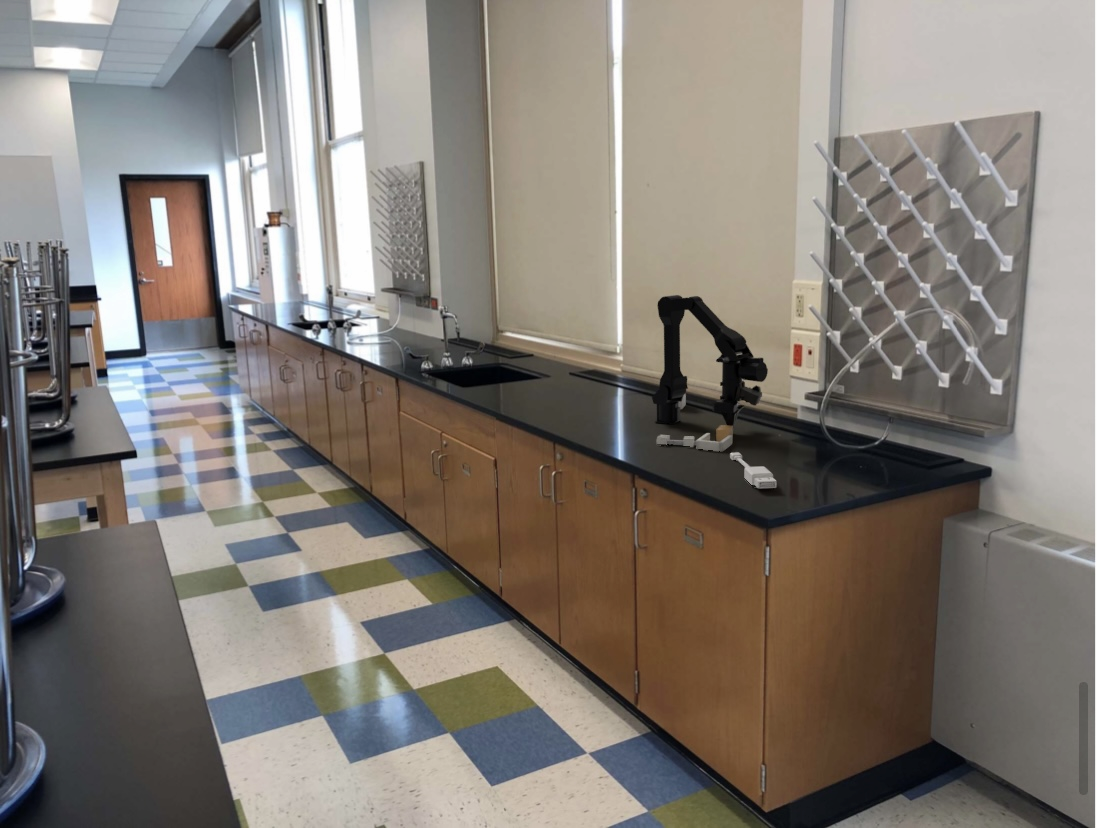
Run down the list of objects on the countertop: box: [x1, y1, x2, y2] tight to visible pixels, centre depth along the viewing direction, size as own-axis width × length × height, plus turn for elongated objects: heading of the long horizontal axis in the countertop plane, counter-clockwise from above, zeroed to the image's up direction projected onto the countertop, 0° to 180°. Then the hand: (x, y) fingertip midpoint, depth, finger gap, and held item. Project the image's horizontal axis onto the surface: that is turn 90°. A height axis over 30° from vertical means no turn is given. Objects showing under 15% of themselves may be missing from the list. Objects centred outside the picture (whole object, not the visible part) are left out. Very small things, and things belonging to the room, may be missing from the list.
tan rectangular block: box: [715, 424, 734, 442], centre depth 248 cm, size 4×6×4 cm, turn 157°
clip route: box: [655, 434, 696, 448], centre depth 242 cm, size 12×4×2 cm, turn 62°
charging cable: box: [729, 451, 778, 489], centre depth 213 cm, size 5×32×3 cm, turn 2°
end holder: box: [695, 432, 733, 453], centre depth 239 cm, size 8×10×2 cm
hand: (731, 430), depth 254 cm, fingers closed
